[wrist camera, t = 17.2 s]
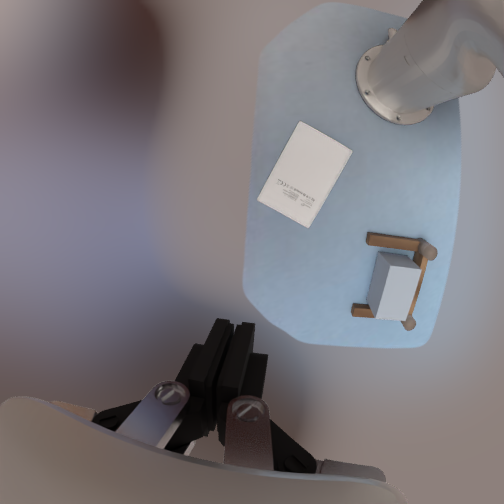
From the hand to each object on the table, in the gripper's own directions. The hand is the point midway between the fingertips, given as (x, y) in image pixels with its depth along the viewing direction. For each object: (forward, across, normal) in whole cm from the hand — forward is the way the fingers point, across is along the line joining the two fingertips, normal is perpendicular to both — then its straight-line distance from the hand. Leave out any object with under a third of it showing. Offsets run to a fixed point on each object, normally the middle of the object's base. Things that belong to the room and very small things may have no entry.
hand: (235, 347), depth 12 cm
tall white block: (+29, -18, +7) cm, 35 cm away
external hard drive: (+30, -4, -6) cm, 31 cm away
